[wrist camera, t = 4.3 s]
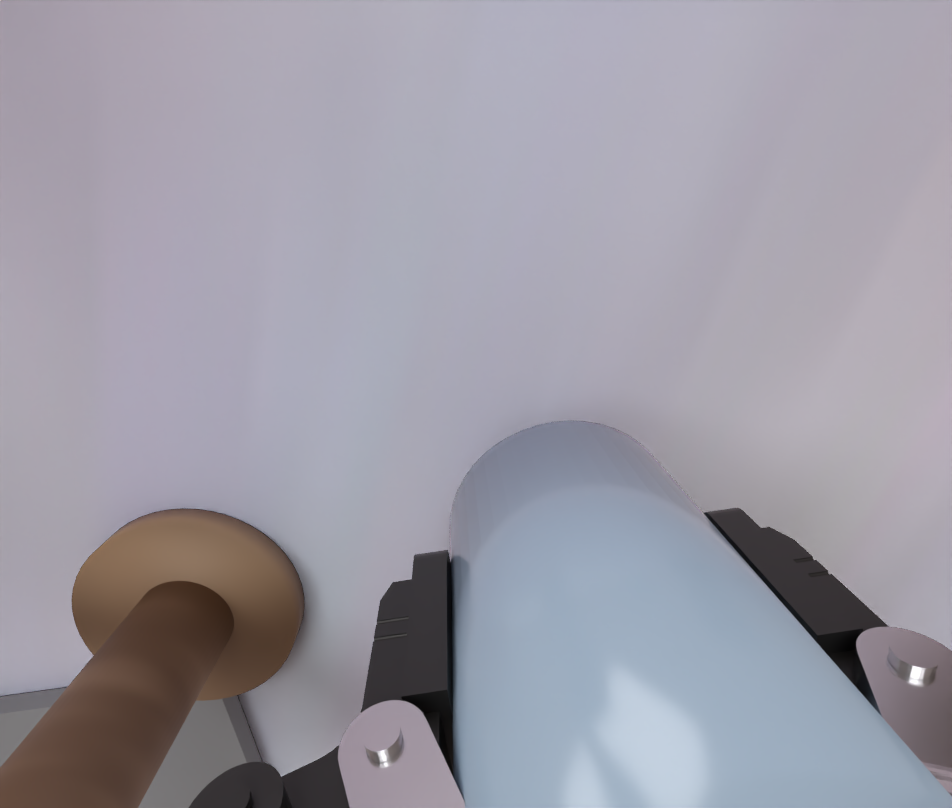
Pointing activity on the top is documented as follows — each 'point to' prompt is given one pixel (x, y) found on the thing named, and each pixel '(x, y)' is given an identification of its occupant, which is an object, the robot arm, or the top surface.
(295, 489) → the top surface
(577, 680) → the pale blue egg shape
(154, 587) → the post
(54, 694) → the mat
